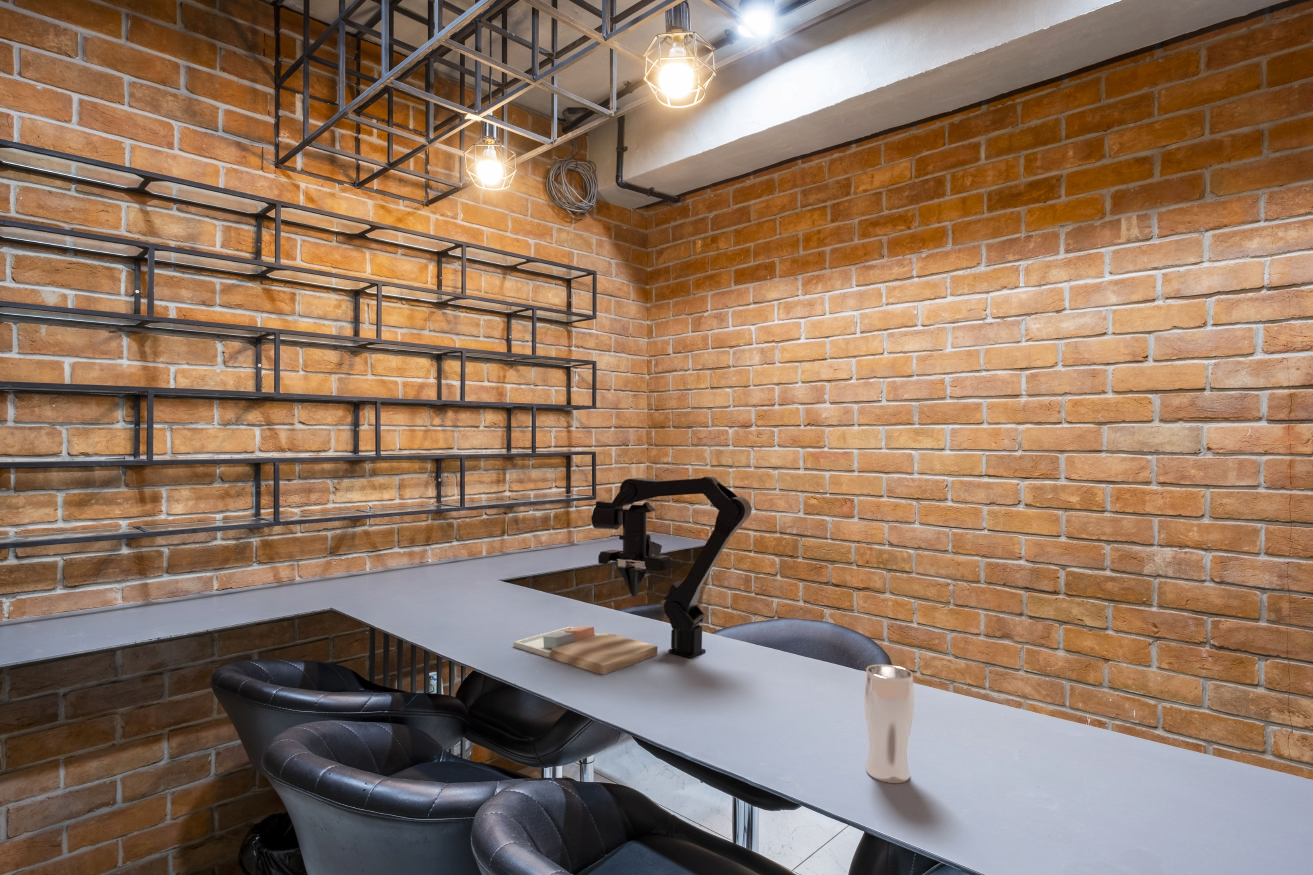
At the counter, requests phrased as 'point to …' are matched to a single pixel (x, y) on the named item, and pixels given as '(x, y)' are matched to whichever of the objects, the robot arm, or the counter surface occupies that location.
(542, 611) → the counter surface
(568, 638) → the grey box
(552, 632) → the tray
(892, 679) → the beer glass
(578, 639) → the terracotta block
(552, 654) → the birch board
